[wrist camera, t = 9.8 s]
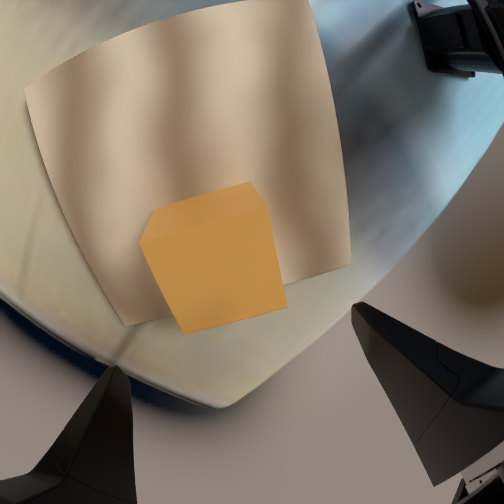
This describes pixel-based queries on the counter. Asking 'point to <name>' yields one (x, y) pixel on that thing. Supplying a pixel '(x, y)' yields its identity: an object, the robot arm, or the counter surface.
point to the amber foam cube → (215, 258)
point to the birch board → (195, 139)
